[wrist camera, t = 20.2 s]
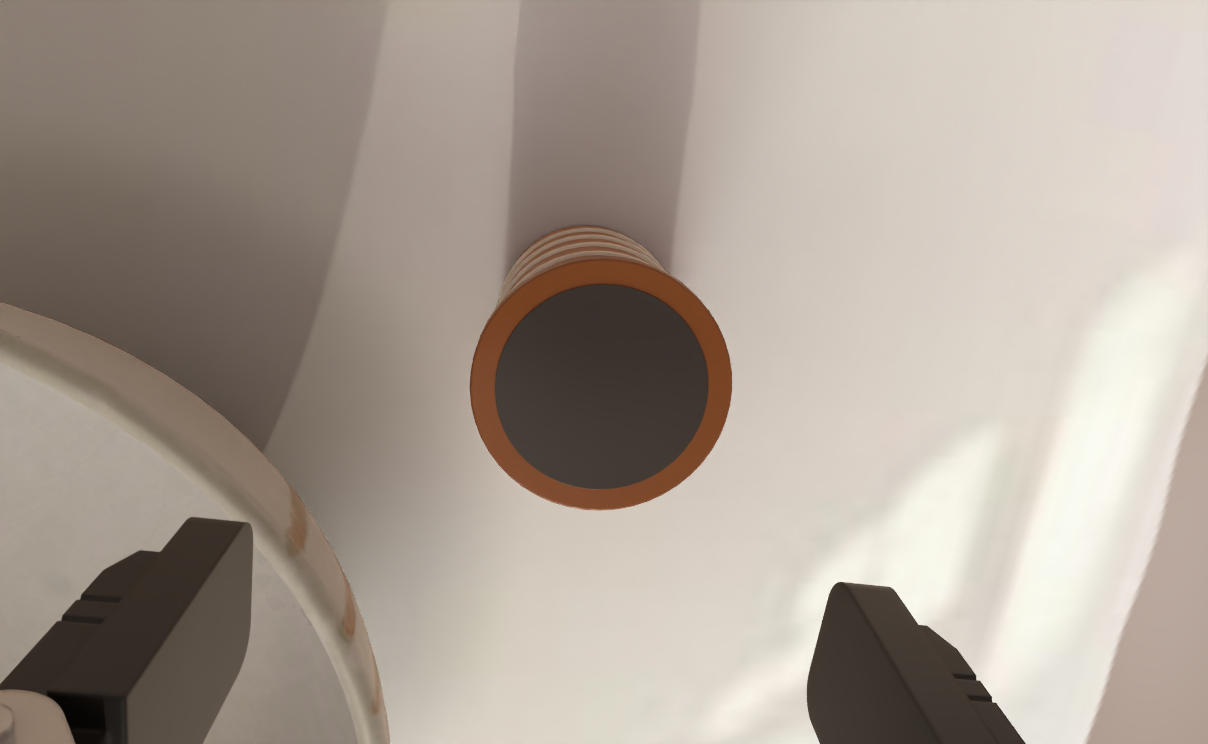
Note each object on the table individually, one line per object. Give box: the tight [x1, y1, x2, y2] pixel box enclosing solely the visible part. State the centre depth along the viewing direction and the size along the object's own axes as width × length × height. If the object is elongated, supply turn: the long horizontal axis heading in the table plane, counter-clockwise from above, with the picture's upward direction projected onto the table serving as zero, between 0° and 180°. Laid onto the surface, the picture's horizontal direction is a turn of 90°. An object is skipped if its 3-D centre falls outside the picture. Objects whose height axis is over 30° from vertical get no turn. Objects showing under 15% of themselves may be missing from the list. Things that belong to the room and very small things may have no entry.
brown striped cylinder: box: [470, 225, 732, 510], centre depth 26 cm, size 10×6×6 cm
